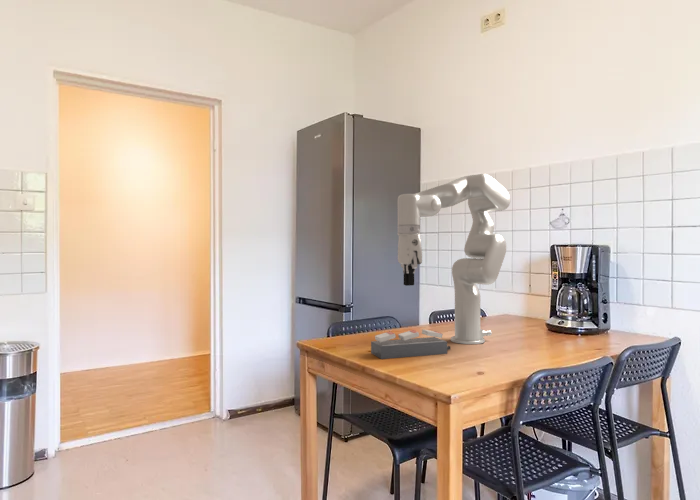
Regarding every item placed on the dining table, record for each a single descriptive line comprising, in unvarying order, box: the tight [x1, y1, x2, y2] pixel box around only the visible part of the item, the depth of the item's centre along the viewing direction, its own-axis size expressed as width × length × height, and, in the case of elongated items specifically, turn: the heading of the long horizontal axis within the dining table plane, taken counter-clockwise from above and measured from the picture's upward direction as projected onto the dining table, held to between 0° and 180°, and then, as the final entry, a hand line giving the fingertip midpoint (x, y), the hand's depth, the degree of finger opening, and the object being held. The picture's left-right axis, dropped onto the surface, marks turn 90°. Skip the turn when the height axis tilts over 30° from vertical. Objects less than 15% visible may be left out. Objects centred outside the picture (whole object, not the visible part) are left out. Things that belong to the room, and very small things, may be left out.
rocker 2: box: [397, 329, 420, 341], centre depth 164 cm, size 6×4×2 cm
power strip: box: [370, 336, 451, 360], centre depth 165 cm, size 28×9×4 cm, turn 108°
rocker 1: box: [374, 331, 397, 342], centre depth 161 cm, size 6×4×2 cm
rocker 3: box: [421, 329, 443, 339], centre depth 167 cm, size 6×4×2 cm
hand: (408, 285), depth 164 cm, fingers closed
